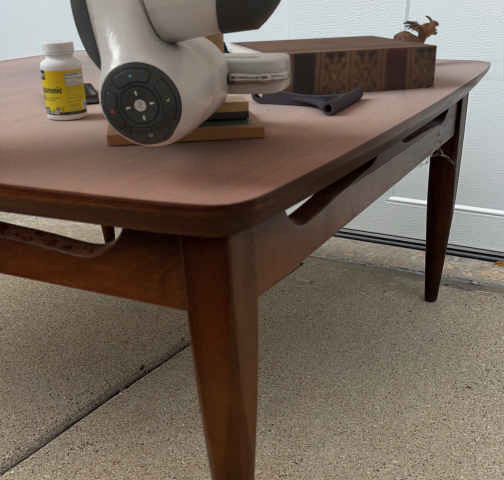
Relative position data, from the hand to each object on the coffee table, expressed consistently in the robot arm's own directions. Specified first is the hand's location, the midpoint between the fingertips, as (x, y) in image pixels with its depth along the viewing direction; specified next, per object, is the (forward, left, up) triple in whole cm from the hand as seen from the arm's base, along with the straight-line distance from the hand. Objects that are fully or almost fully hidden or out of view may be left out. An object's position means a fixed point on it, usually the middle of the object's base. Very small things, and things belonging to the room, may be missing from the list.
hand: (213, 64), depth 84 cm
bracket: (+14, +12, -7) cm, 20 cm away
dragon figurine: (+45, +52, -8) cm, 69 cm away
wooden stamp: (0, -1, -6) cm, 6 cm away
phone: (-20, +29, -7) cm, 36 cm away
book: (+23, +33, -8) cm, 41 cm away
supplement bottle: (-19, +11, -7) cm, 24 cm away
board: (-4, -1, -7) cm, 9 cm away
